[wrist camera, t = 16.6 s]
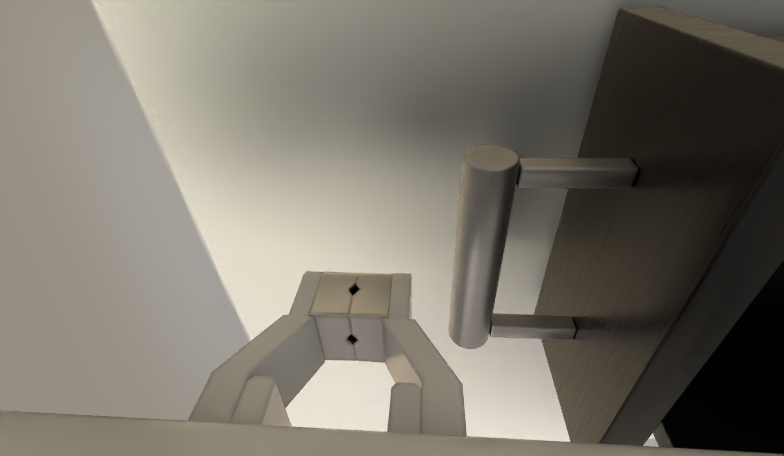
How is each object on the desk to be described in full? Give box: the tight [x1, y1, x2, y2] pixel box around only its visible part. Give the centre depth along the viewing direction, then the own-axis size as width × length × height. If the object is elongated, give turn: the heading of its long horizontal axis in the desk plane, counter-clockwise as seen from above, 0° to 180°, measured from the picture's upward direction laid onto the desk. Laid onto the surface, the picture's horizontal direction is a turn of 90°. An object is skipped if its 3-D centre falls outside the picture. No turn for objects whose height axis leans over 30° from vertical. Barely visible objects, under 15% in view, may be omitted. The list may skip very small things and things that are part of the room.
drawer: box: [449, 7, 784, 454], centre depth 11 cm, size 19×12×7 cm, turn 92°
